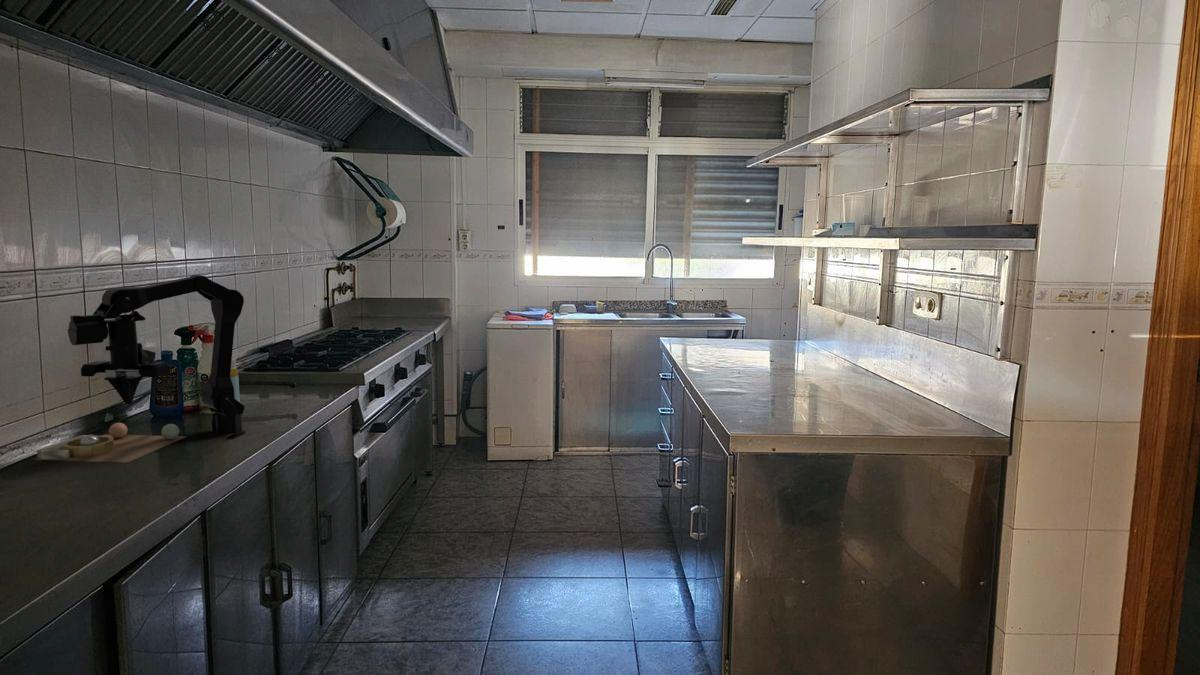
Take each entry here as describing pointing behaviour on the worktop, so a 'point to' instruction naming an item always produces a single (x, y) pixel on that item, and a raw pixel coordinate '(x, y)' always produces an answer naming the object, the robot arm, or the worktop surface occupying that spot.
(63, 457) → the board
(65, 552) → the worktop surface
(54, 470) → the worktop surface
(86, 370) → the robot arm
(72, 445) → the race ring
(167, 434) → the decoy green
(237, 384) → the bottle
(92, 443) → the steel ball
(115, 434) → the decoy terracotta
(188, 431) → the worktop surface
